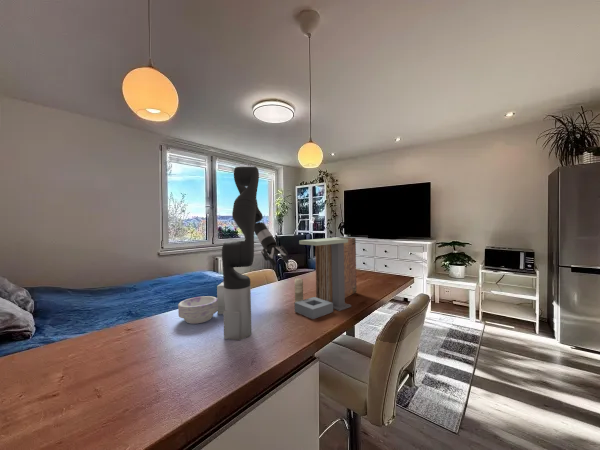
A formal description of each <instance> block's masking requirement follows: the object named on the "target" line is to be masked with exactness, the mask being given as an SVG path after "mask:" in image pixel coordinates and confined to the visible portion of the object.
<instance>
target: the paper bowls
mask: <svg viewBox="0 0 600 450" xmlns="http://www.w3.org/2000/svg"><path fill="white" fill-rule="evenodd" d="M177 307H178V308H177V309H178V311H177V312H178V313H177V314H178V317H179V318H181V319H183V320H184V322H185V323H188V324H194V325H195V324H202V323H205V322H208V321H210V320H212V319H213V316H214V314H216V313H218V299H217V296H210V295H207V296H205V295H203V296H201V295H200V296H195V297H191V298H186V299H184V300H182V301H180V302H179V303H178V304H177Z"/></svg>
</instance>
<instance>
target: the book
mask: <svg viewBox="0 0 600 450" xmlns="http://www.w3.org/2000/svg"><path fill="white" fill-rule="evenodd" d="M340 238H341V239H348V242H347V243H344V284H345V299H346V298H348V297H350V296H351V295H354V294H355V293H358V292H357V249H356V248H357V247H356V243H357V242H356V237H344V236H343V237H342V236H341V237H340ZM314 247H315V249H314V250H315V251H314V252H315V297H316V298H319V299H322V300H326V301H329V302H332V303H333V300H332V249H331V244H328V245H318V246H314Z"/></svg>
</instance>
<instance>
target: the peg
mask: <svg viewBox="0 0 600 450" xmlns="http://www.w3.org/2000/svg"><path fill="white" fill-rule="evenodd" d="M301 300H304V279H303V278H302V277H299V278H298V277H297V278H294V302H298V301H301Z"/></svg>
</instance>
